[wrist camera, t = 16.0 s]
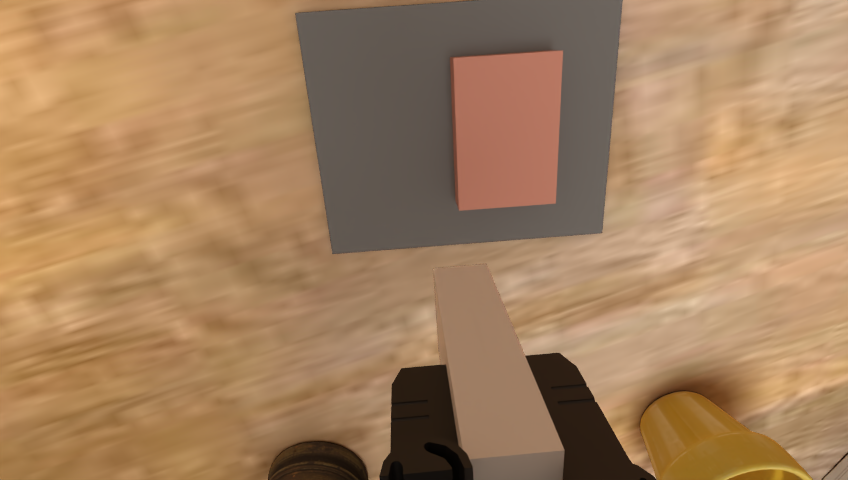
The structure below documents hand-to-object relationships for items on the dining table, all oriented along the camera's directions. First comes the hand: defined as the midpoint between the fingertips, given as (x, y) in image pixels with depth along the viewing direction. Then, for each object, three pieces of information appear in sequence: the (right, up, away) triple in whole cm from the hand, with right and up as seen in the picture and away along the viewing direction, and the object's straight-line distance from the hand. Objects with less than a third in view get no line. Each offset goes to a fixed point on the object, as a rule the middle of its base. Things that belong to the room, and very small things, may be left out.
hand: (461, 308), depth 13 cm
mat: (+2, +9, +19) cm, 21 cm away
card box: (+1, +9, +17) cm, 19 cm away
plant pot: (+22, -14, +30) cm, 40 cm away
